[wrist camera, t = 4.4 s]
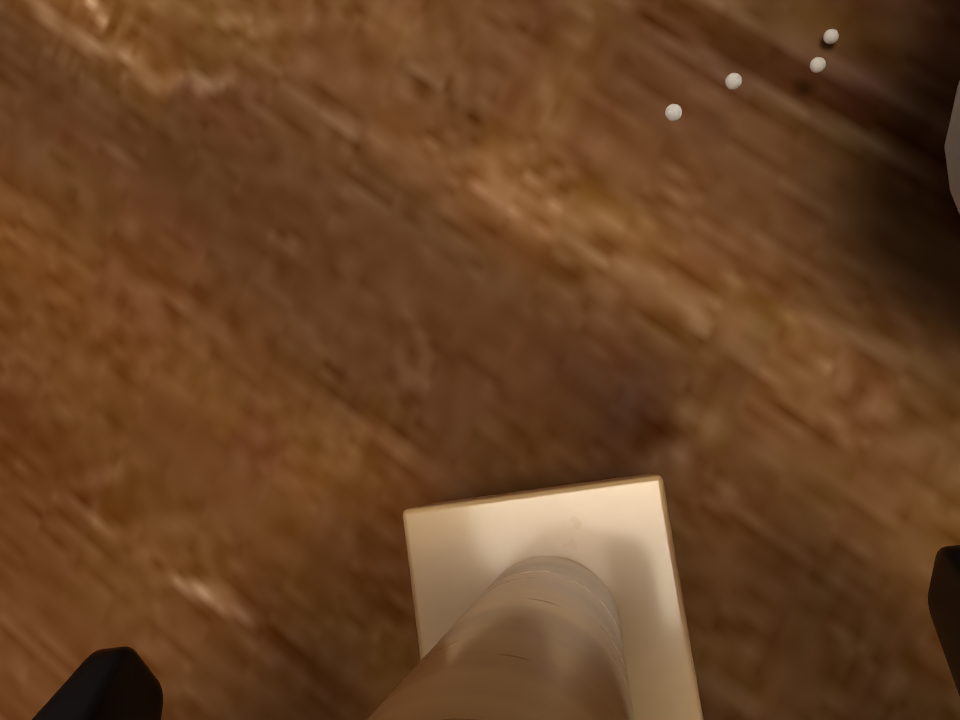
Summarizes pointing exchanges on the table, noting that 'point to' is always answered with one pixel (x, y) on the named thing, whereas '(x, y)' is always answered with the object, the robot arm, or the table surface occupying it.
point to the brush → (548, 608)
